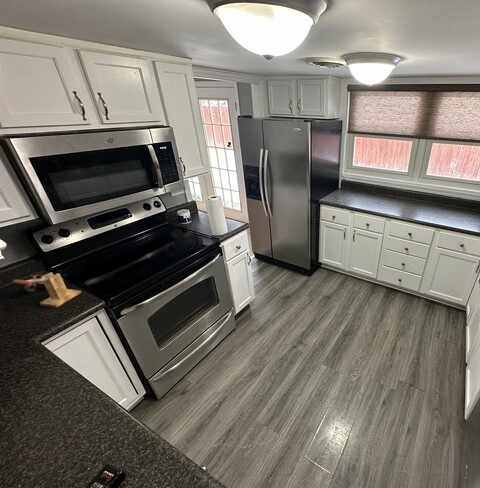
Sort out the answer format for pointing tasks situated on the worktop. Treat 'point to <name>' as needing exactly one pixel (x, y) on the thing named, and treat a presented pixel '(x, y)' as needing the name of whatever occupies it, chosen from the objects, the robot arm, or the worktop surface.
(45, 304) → the bracket
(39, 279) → the lever
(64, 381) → the worktop surface
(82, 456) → the worktop surface
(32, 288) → the pottery mug
